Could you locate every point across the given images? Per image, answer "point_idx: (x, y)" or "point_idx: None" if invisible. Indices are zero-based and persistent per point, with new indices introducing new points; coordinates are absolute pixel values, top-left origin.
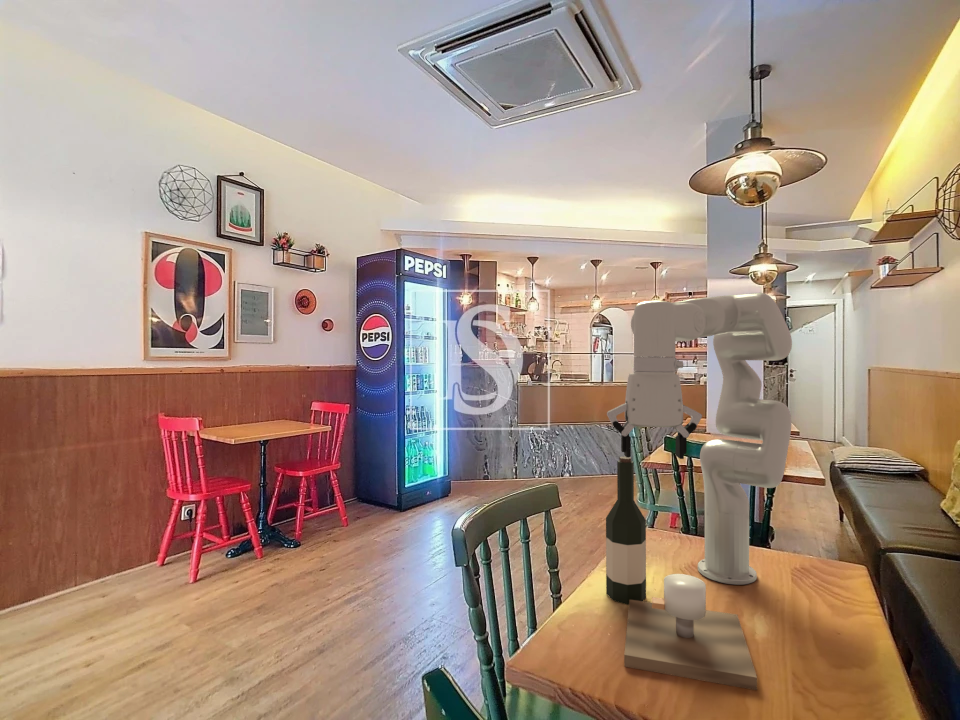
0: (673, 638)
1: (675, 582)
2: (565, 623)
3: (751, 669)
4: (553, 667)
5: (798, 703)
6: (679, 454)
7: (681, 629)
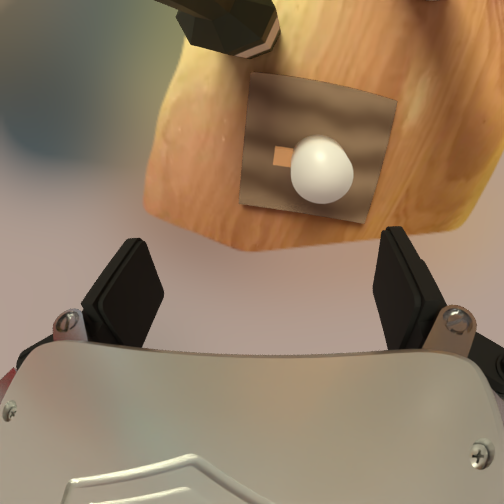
0: None
1: (307, 177)
2: (170, 128)
3: (365, 212)
4: (174, 210)
5: None
6: (376, 298)
7: None
